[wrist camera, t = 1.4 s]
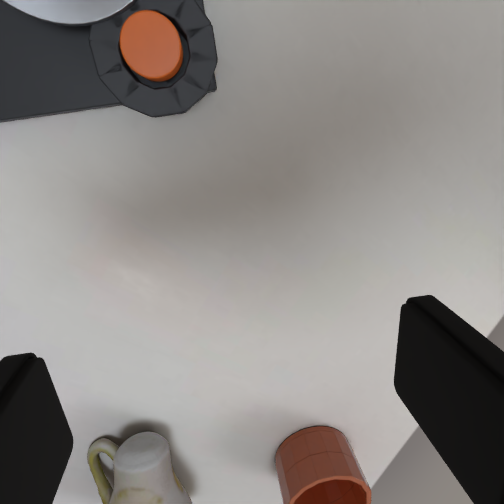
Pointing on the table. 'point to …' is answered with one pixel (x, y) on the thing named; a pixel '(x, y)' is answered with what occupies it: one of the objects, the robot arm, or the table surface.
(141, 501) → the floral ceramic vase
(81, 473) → the table surface
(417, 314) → the robot arm
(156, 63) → the button
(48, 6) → the brushed metal disc
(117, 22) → the scale
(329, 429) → the cup
